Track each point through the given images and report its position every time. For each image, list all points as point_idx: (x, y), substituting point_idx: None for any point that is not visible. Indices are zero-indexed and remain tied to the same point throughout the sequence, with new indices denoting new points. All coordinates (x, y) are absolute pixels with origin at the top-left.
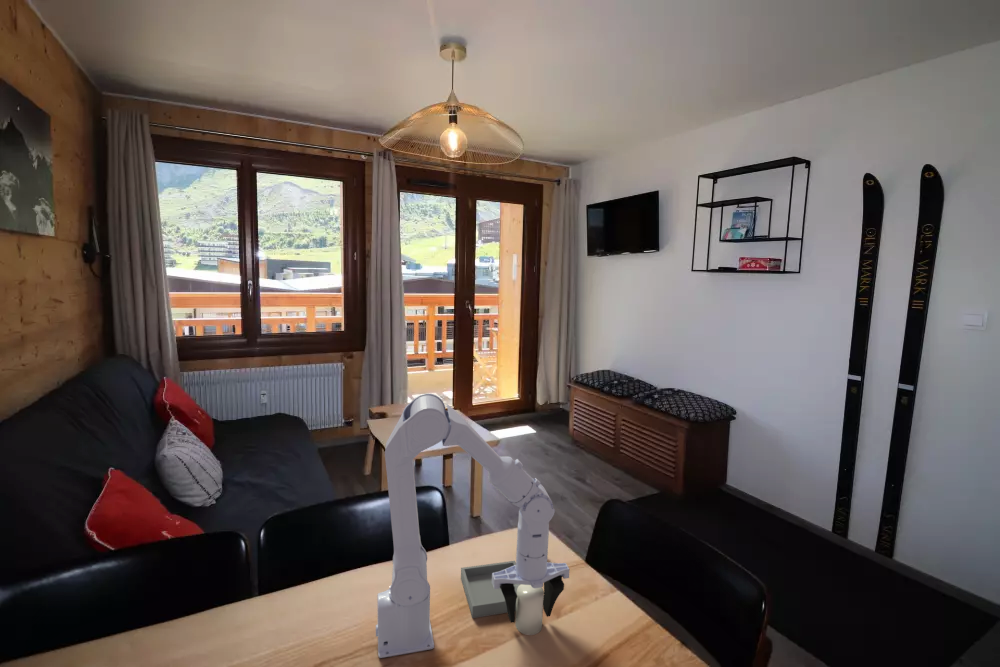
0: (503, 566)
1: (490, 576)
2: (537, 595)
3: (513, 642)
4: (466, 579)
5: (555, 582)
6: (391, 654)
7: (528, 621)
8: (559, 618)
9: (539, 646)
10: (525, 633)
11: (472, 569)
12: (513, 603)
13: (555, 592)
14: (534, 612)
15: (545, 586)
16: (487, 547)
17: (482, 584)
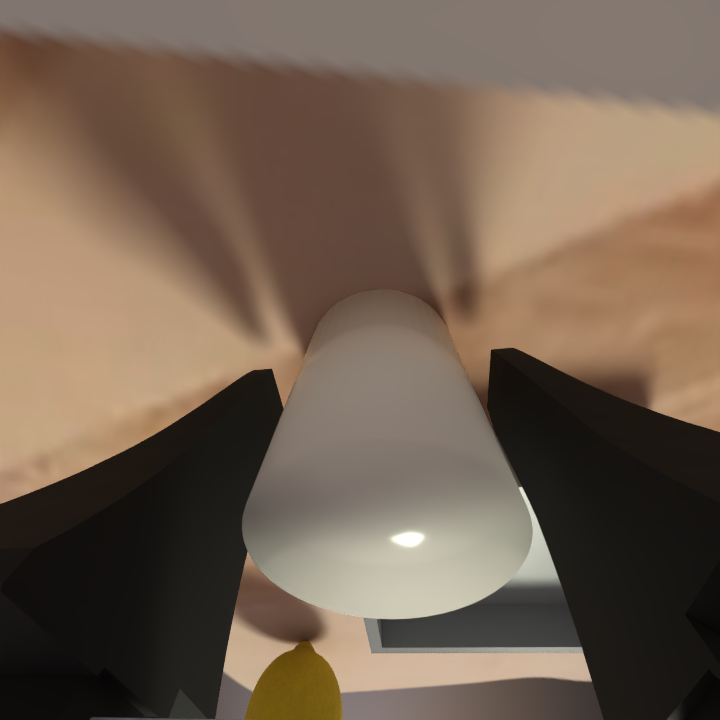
0: (423, 633)
1: None
2: (317, 494)
3: (504, 244)
4: None
5: (3, 657)
6: None
7: (410, 325)
8: (214, 379)
9: (353, 192)
10: (415, 298)
11: (565, 639)
12: (625, 431)
13: (66, 506)
14: (367, 355)
15: (223, 569)
16: (438, 673)
17: (527, 571)
